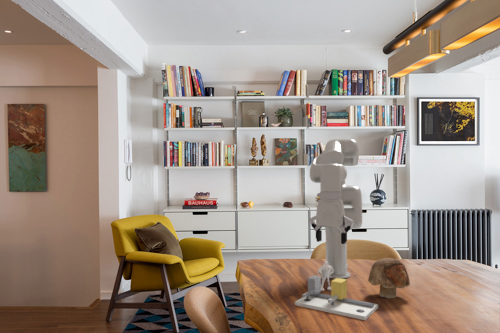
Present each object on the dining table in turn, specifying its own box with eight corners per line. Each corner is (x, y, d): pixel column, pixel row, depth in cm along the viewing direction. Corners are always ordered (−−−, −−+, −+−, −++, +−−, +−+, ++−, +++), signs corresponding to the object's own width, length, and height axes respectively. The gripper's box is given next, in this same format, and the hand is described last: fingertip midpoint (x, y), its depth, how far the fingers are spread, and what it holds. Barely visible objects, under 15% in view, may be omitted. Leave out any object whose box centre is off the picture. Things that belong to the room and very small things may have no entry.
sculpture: (391, 306, 139) (390, 264, 139) (359, 294, 153) (359, 256, 153) (419, 299, 146) (419, 260, 146) (387, 288, 160) (387, 252, 160)
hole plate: (311, 294, 153) (311, 291, 153) (378, 307, 138) (378, 304, 138) (295, 305, 142) (294, 301, 142) (365, 320, 127) (365, 316, 127)
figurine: (331, 287, 163) (330, 258, 163) (336, 290, 159) (336, 261, 159) (315, 289, 160) (315, 260, 160) (320, 292, 156) (320, 262, 156)
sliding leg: (336, 297, 146) (336, 277, 146) (347, 299, 143) (346, 279, 144) (323, 305, 136) (323, 285, 136) (334, 308, 134) (334, 287, 134)
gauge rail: (311, 293, 152) (311, 274, 152) (375, 305, 137) (375, 284, 137) (297, 301, 142) (297, 281, 142) (364, 315, 128) (364, 293, 128)
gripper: (305, 196, 147) (305, 241, 147) (349, 197, 137) (350, 246, 137) (313, 195, 153) (314, 239, 153) (356, 196, 144) (357, 243, 143)
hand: (331, 242), depth 145 cm, fingers open, 9 cm apart
